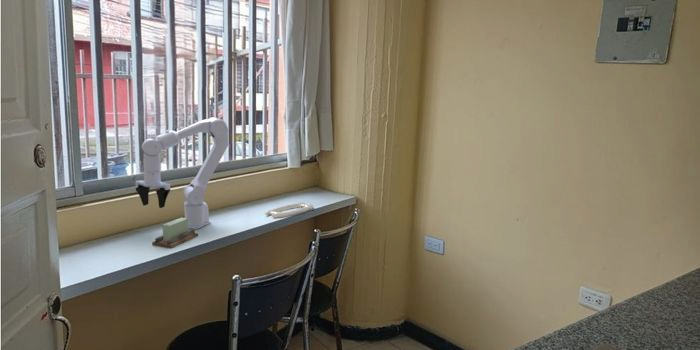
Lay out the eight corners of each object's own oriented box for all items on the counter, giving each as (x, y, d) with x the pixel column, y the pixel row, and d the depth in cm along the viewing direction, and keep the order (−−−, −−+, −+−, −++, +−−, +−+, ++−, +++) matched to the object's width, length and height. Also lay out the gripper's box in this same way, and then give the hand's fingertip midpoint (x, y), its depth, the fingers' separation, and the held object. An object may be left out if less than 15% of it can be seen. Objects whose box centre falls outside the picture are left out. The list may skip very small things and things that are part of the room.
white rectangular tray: (261, 216, 214) (302, 205, 232) (276, 220, 207) (317, 209, 226) (261, 210, 213) (302, 200, 232) (276, 214, 207) (317, 204, 226)
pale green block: (181, 233, 183) (181, 217, 182) (188, 234, 182) (187, 218, 181) (163, 240, 173) (162, 224, 172) (170, 242, 172) (169, 225, 171)
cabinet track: (180, 232, 186) (180, 226, 185) (198, 235, 183) (197, 229, 183) (152, 244, 172) (152, 238, 172) (171, 248, 169) (170, 241, 169)
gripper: (128, 170, 183) (130, 206, 185) (160, 174, 178) (162, 210, 181) (142, 168, 189) (144, 202, 192) (173, 171, 185) (174, 206, 187)
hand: (153, 206), depth 187 cm, fingers open, 7 cm apart
